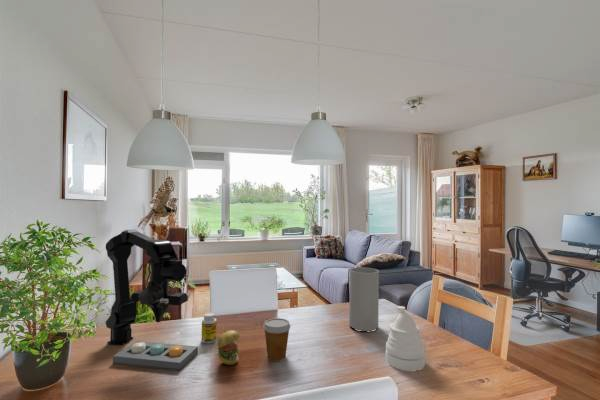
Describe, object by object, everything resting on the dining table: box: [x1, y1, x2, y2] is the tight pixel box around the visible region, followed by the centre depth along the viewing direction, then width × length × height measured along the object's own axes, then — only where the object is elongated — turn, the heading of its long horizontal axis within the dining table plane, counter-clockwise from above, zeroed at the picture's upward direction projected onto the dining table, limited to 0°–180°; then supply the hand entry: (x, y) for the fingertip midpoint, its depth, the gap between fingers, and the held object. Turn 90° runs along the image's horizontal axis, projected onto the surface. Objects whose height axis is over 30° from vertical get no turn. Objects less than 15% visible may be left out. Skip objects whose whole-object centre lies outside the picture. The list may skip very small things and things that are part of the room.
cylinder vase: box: [348, 266, 380, 331], centre depth 141 cm, size 12×12×25 cm
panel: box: [112, 340, 199, 372], centre depth 110 cm, size 24×12×3 cm, turn 81°
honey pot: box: [385, 305, 426, 371], centre depth 110 cm, size 13×13×18 cm
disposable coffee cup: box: [262, 317, 292, 362], centre depth 112 cm, size 10×10×12 cm
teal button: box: [150, 344, 164, 356], centre depth 110 cm, size 4×4×3 cm
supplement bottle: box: [201, 312, 218, 344], centre depth 125 cm, size 6×6×10 cm
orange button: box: [169, 346, 183, 357], centre depth 109 cm, size 4×4×3 cm
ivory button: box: [131, 341, 146, 354], centre depth 111 cm, size 4×4×3 cm
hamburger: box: [216, 326, 240, 366], centre depth 108 cm, size 8×7×12 cm
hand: (158, 321), depth 112 cm, fingers closed
